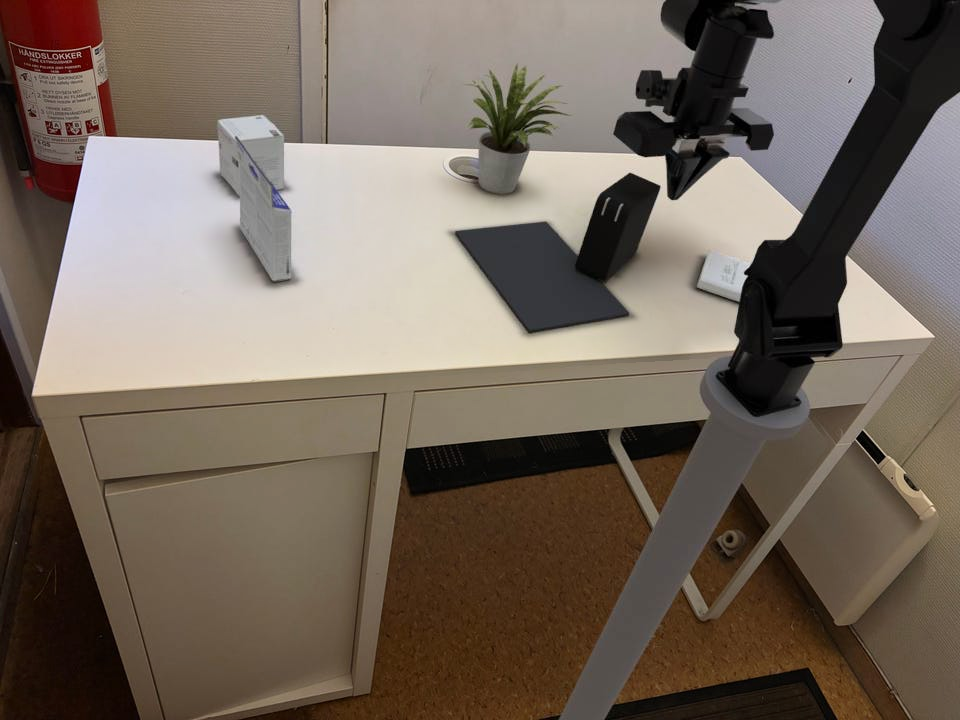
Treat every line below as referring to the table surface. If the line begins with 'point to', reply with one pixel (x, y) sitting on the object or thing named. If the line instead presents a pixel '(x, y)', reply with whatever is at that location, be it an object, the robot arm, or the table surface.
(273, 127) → the white cardboard box
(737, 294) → the hard drive
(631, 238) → the electronic device
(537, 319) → the mat
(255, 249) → the ink box
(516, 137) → the house plant
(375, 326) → the table surface
